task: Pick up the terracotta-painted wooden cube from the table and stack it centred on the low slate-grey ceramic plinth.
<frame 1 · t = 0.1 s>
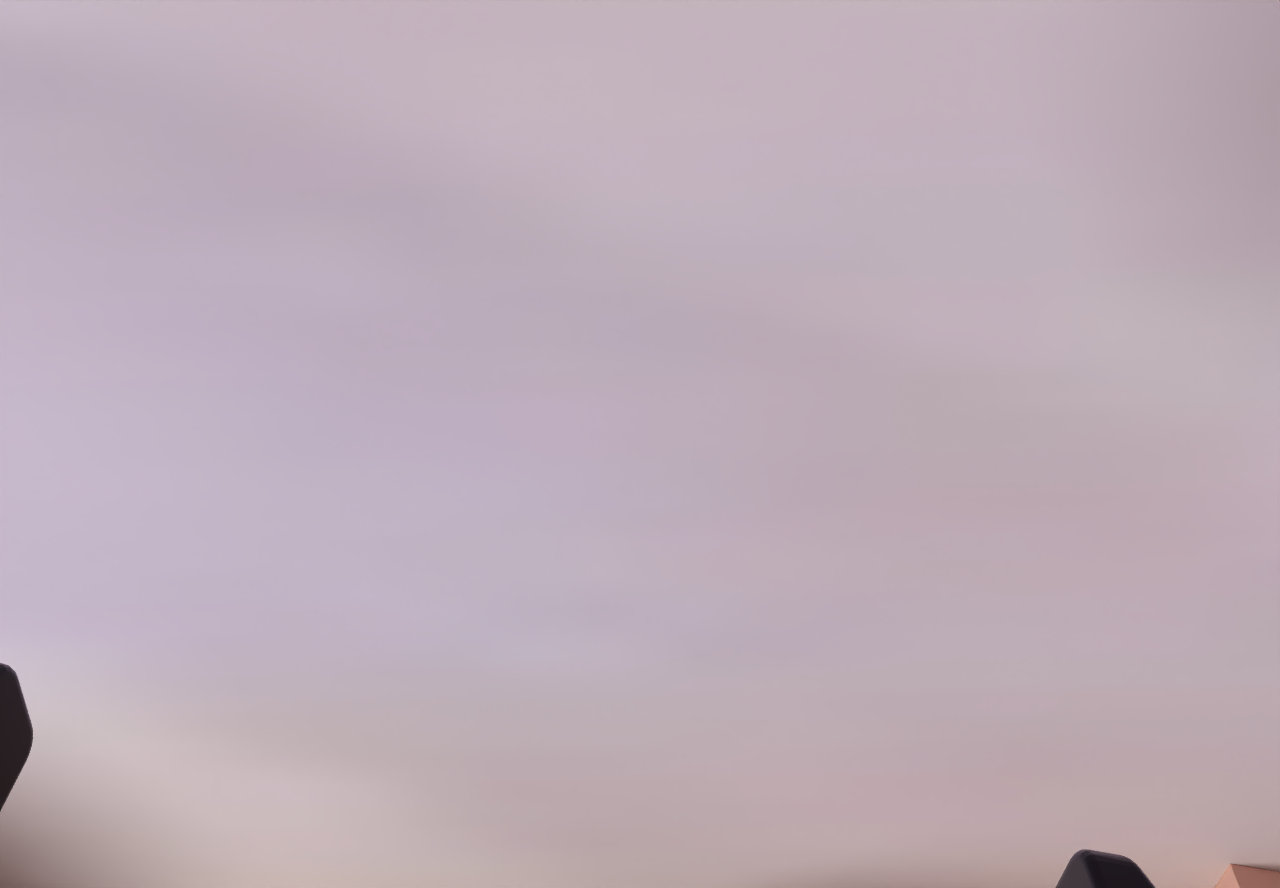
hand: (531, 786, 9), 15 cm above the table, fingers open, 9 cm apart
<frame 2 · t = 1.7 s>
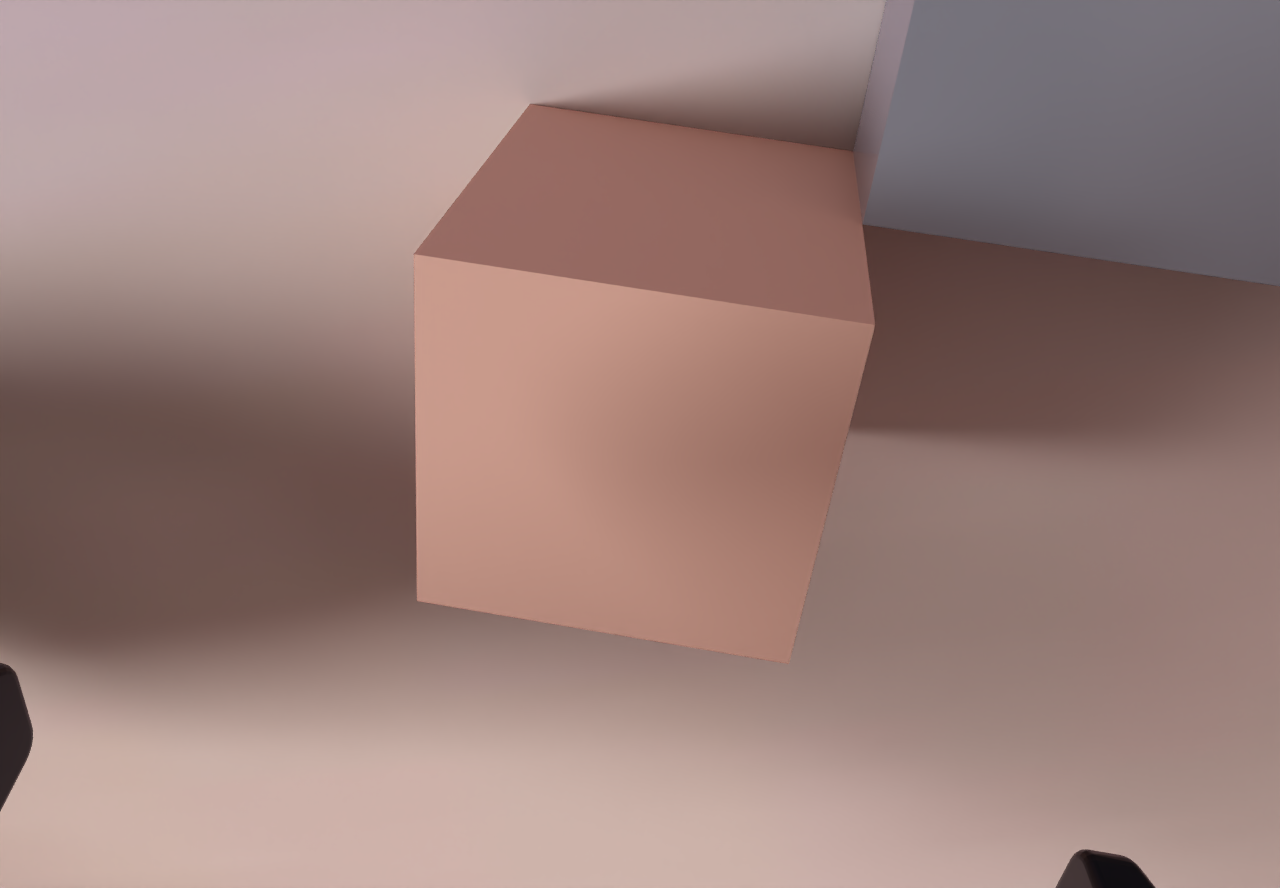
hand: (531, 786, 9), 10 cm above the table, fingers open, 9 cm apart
cube: (670, 275, 18), on the table
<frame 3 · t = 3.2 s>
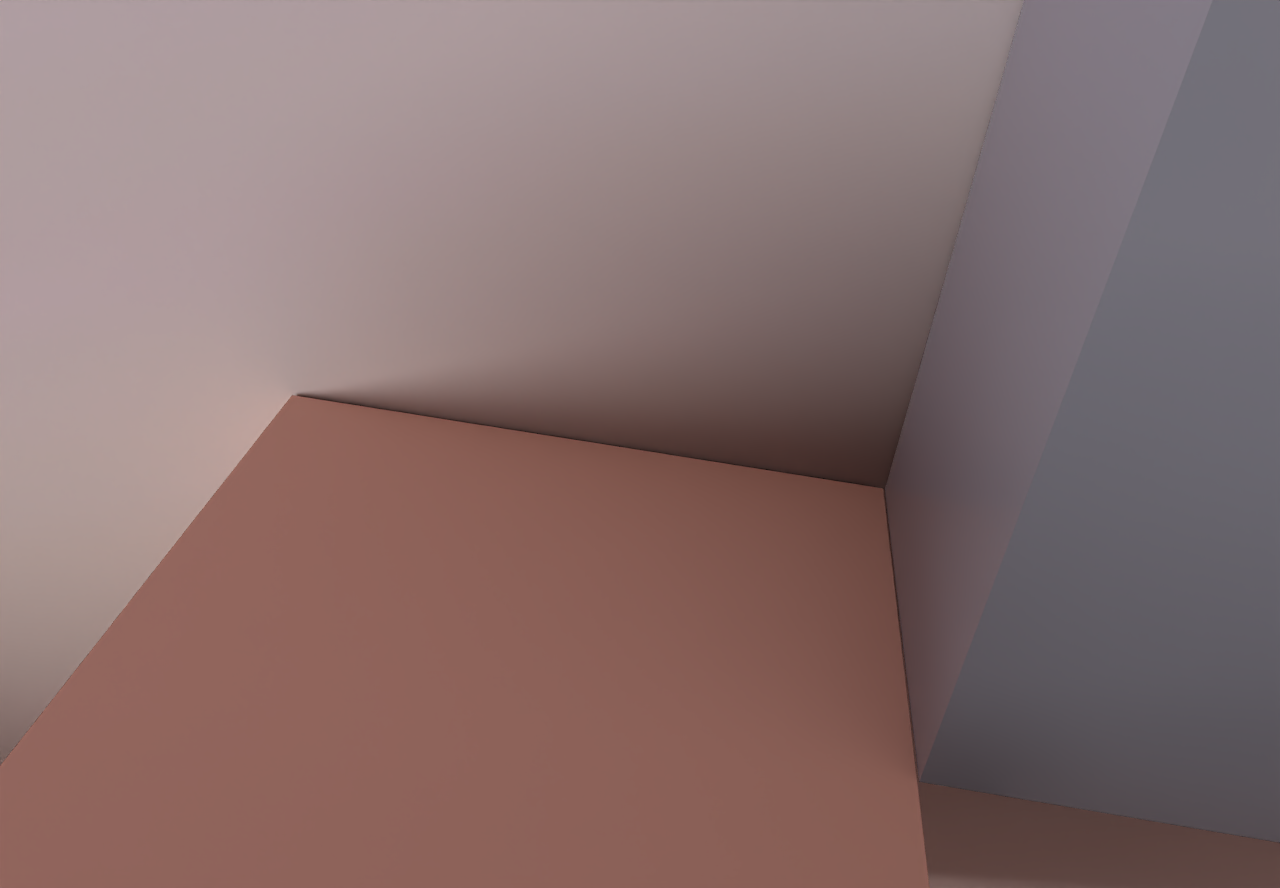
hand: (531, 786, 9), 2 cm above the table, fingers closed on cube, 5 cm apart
cube: (563, 657, 10), on the table, touching gripper
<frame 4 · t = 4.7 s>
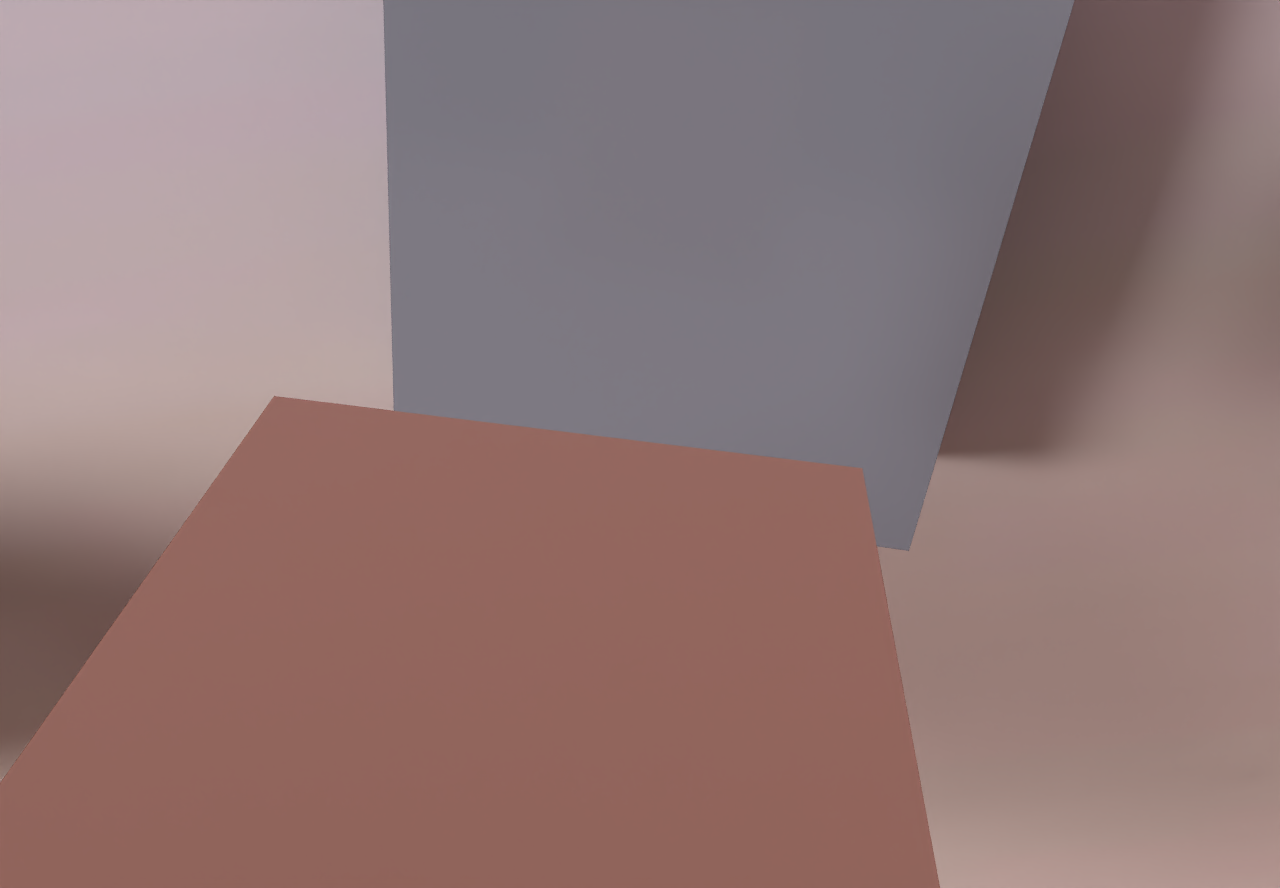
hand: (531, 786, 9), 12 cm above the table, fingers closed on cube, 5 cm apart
cube: (551, 648, 10), point 10 cm above the table, touching gripper
plinth: (693, 206, 19), on the table
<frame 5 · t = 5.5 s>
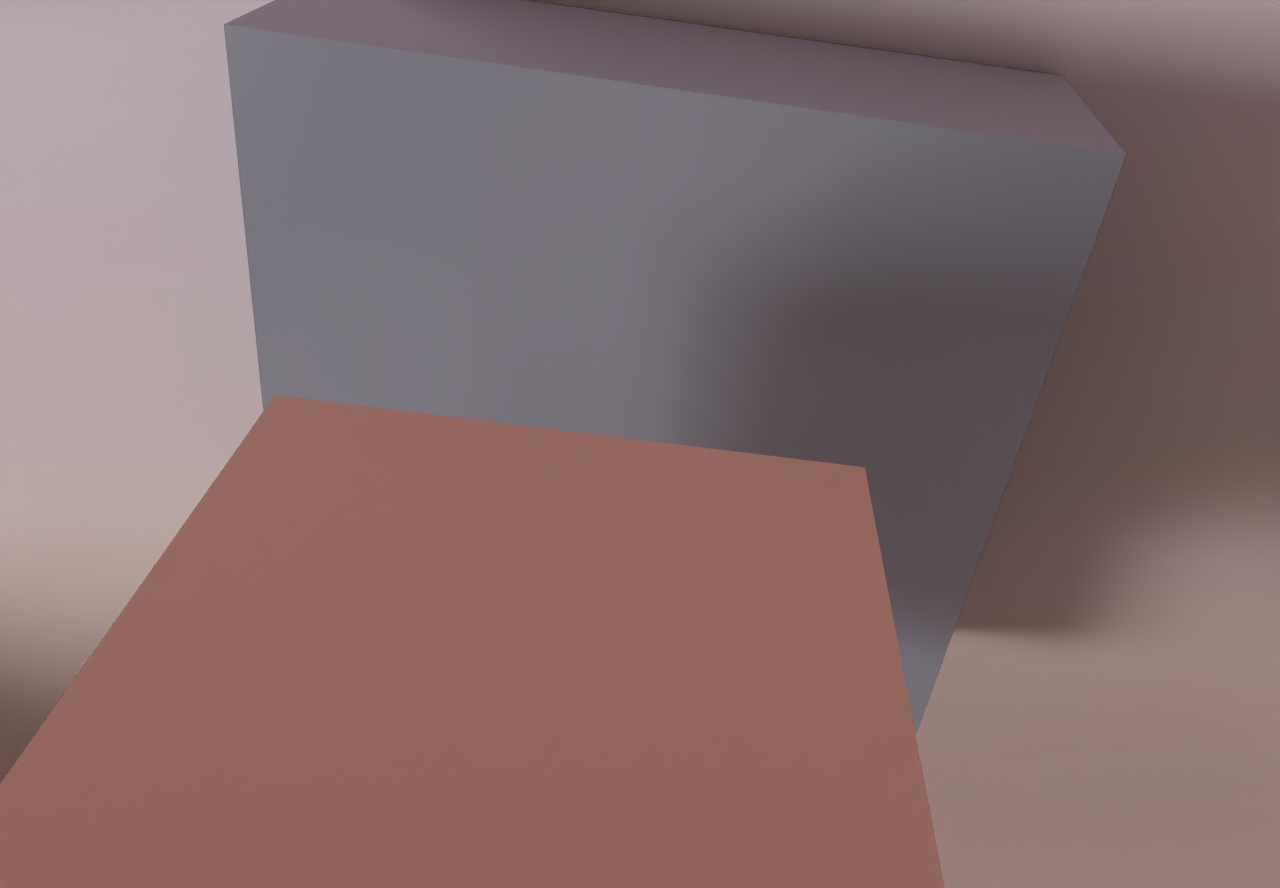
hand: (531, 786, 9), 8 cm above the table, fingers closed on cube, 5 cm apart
cube: (553, 648, 10), point 6 cm above the table, touching gripper
plinth: (650, 348, 16), on the table
when the fingers open (5 cm above the table, at t = 6.3 s): cube stays where it is, resting on plinth.
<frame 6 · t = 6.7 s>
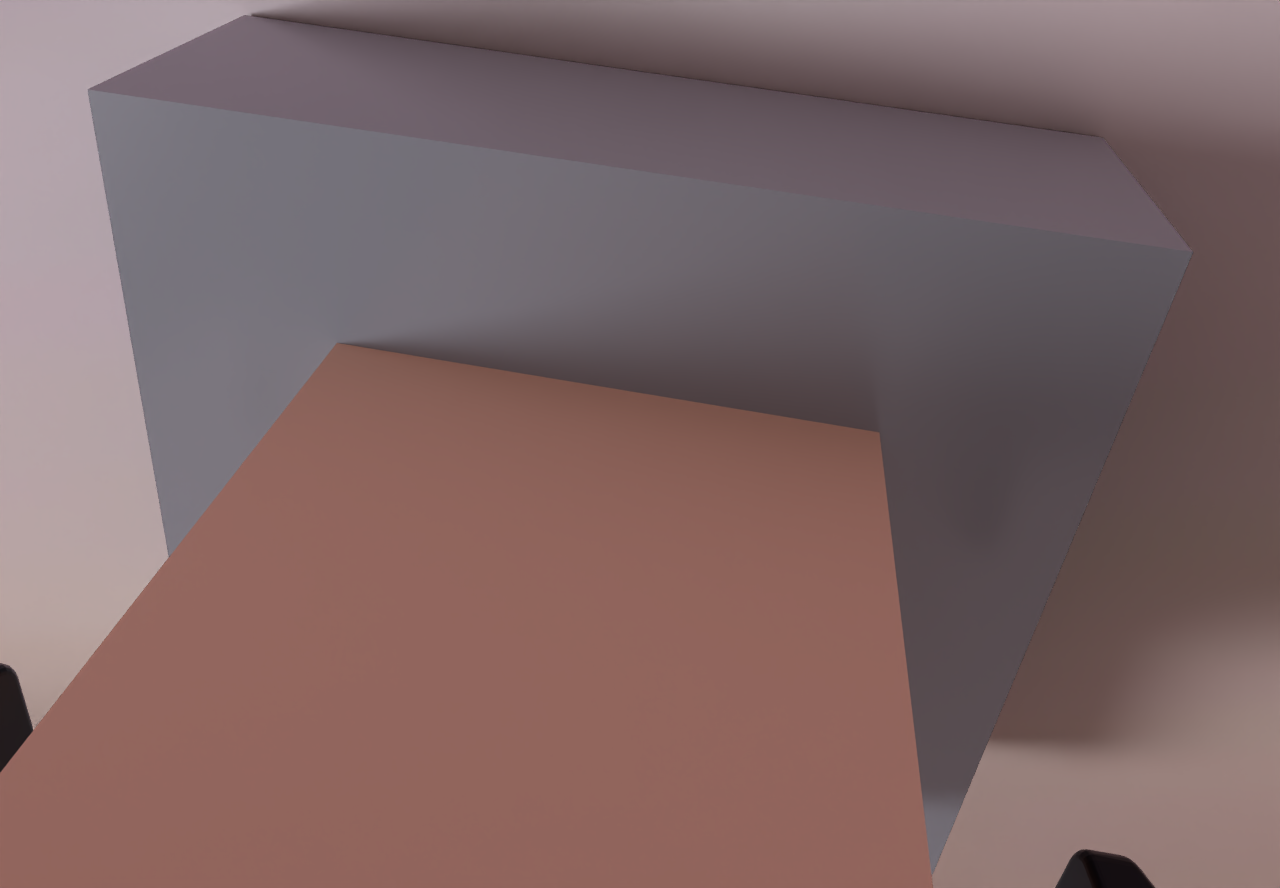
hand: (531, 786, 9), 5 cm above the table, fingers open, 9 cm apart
cube: (581, 594, 11), point 3 cm above the table, touching plinth
plinth: (623, 437, 14), on the table
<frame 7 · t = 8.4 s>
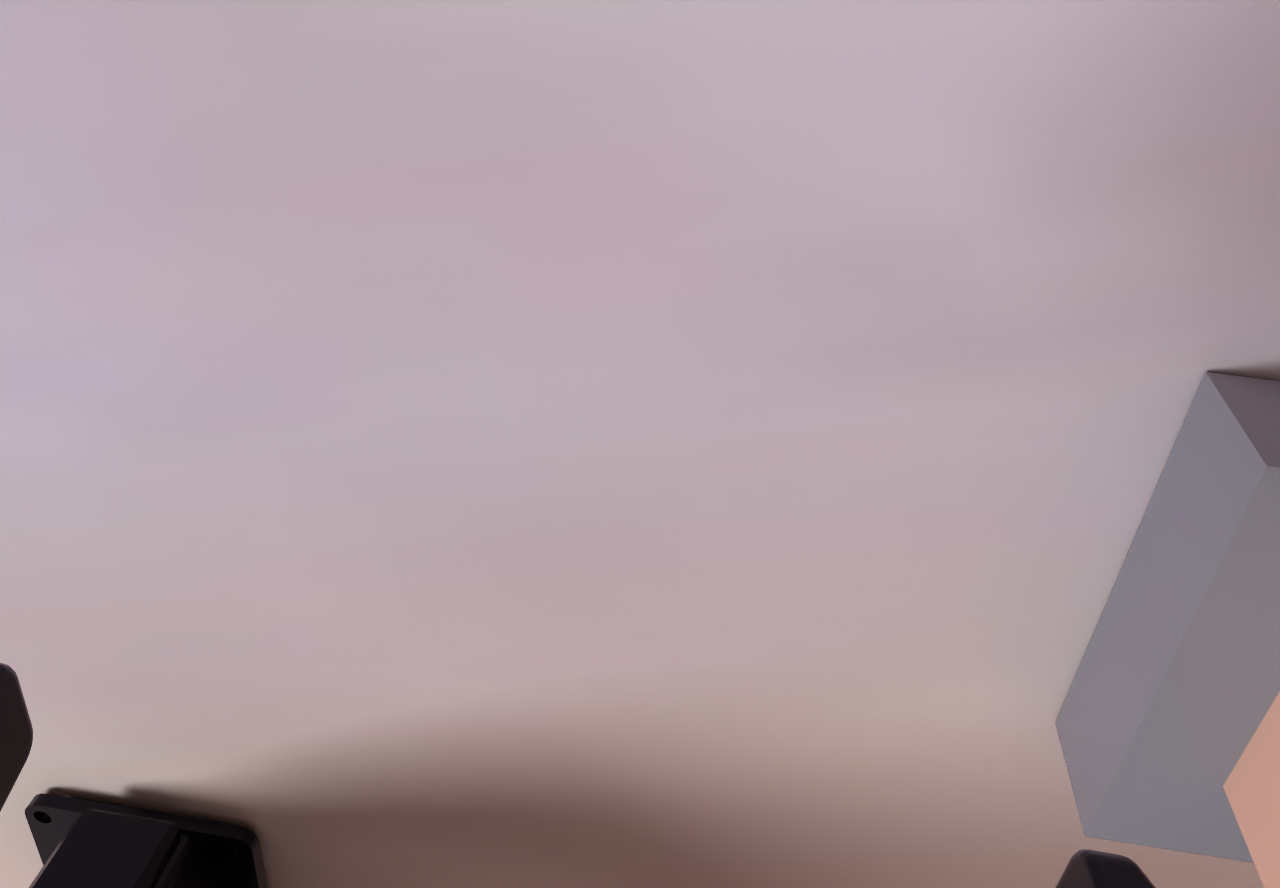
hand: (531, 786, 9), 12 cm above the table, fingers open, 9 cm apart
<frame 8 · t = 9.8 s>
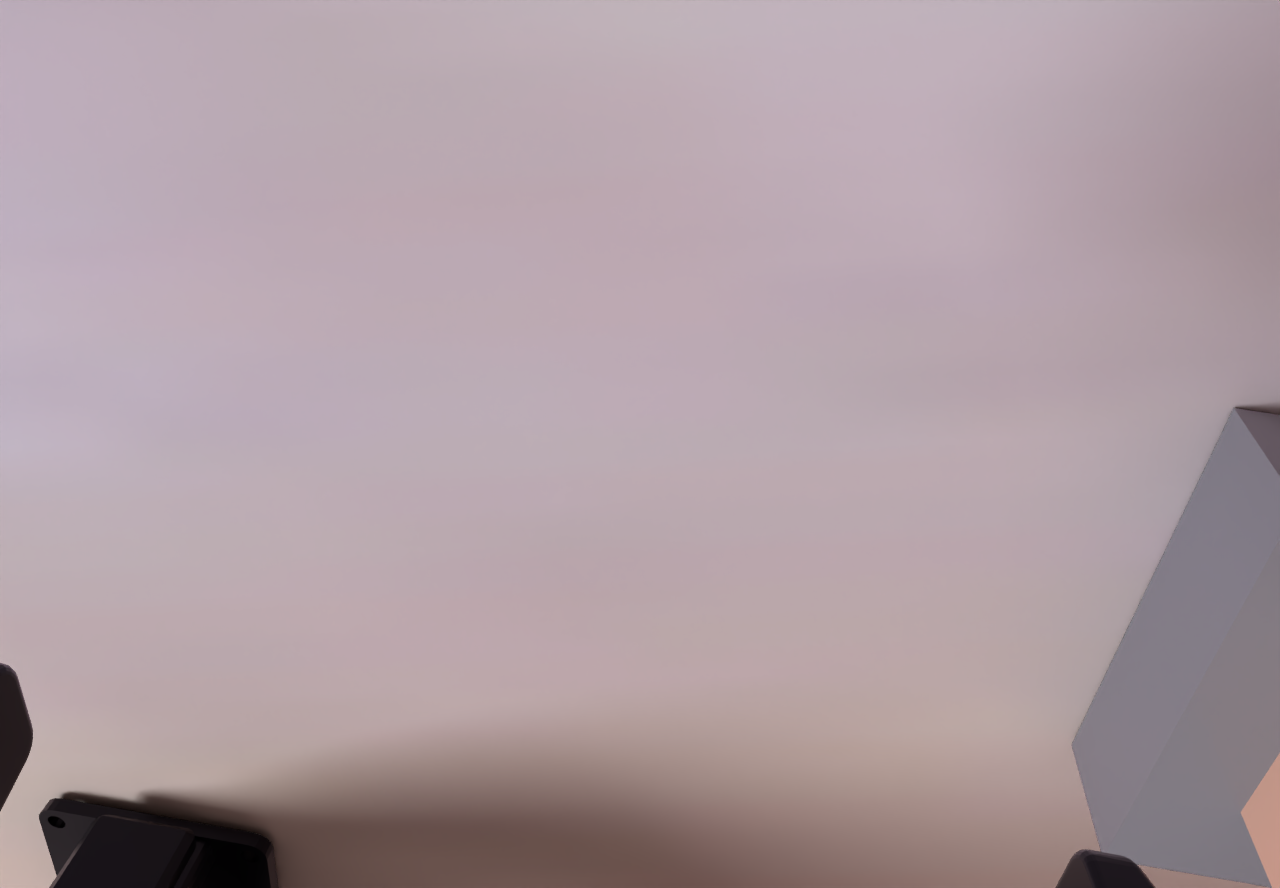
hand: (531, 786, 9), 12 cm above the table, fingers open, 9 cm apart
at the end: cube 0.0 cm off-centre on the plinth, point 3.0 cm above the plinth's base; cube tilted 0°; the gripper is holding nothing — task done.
